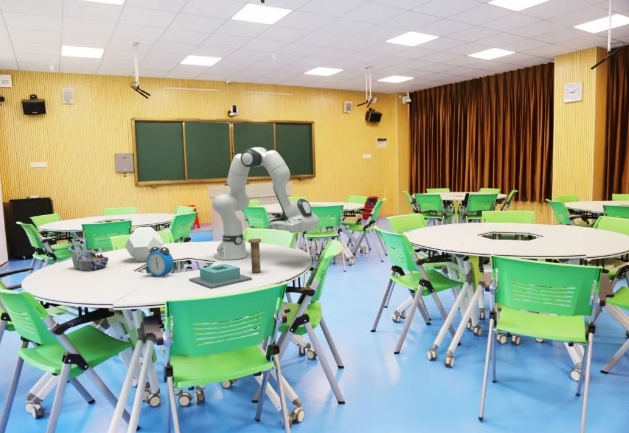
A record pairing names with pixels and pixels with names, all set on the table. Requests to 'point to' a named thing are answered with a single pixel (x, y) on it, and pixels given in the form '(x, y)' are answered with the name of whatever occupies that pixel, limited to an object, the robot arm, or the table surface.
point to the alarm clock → (159, 261)
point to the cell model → (88, 260)
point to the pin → (255, 255)
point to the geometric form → (143, 242)
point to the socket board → (211, 285)
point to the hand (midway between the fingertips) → (273, 227)
